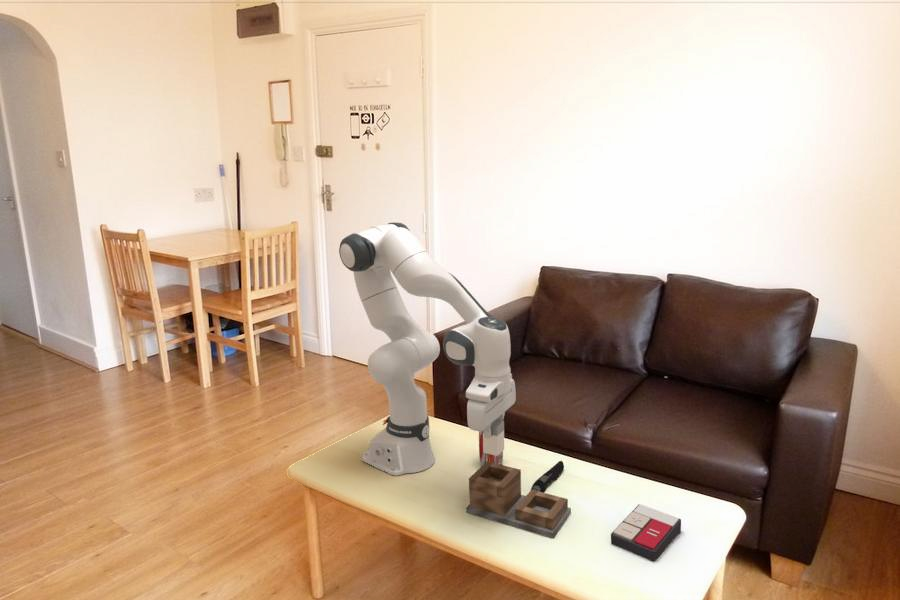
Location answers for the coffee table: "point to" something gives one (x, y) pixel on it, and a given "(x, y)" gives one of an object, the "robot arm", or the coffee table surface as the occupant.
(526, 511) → the twin wooden frame tray
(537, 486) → the electric trimmer
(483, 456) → the soda can
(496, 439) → the plug
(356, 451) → the coffee table surface
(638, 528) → the calculator
